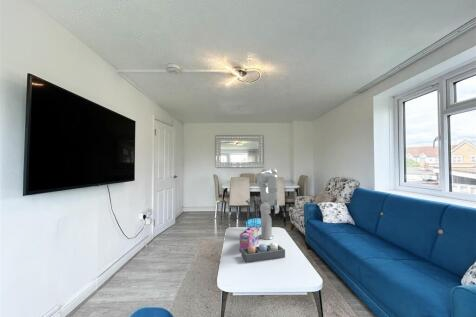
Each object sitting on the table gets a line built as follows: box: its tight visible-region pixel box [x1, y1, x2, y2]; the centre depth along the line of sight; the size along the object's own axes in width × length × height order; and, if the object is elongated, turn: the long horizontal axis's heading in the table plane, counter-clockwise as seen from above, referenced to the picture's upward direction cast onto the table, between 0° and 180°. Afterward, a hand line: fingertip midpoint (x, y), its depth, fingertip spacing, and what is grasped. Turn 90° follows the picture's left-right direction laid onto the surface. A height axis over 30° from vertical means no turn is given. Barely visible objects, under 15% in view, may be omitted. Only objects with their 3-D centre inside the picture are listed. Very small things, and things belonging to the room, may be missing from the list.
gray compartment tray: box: [240, 244, 286, 264], centre depth 165 cm, size 12×30×6 cm, turn 107°
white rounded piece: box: [269, 242, 279, 251], centre depth 168 cm, size 6×6×6 cm
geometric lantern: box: [245, 195, 264, 231], centre depth 230 cm, size 16×16×35 cm
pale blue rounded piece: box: [259, 243, 267, 252], centre depth 165 cm, size 6×6×6 cm
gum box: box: [239, 226, 259, 253], centre depth 184 cm, size 24×8×14 cm, turn 156°
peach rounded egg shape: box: [248, 245, 256, 254], centre depth 163 cm, size 6×6×6 cm
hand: (272, 213), depth 177 cm, fingers closed
